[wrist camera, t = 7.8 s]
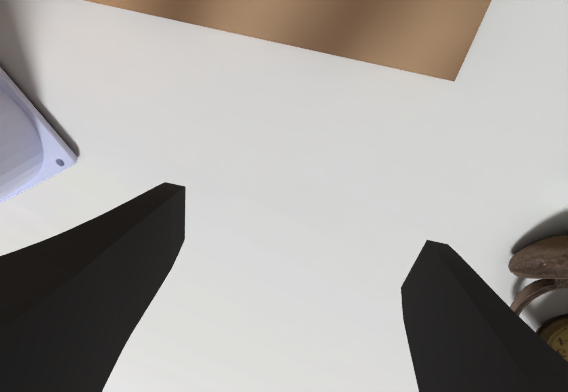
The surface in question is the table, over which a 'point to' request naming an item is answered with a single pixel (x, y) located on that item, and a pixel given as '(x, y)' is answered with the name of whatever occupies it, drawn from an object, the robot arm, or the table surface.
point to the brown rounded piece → (544, 284)
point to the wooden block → (343, 27)
